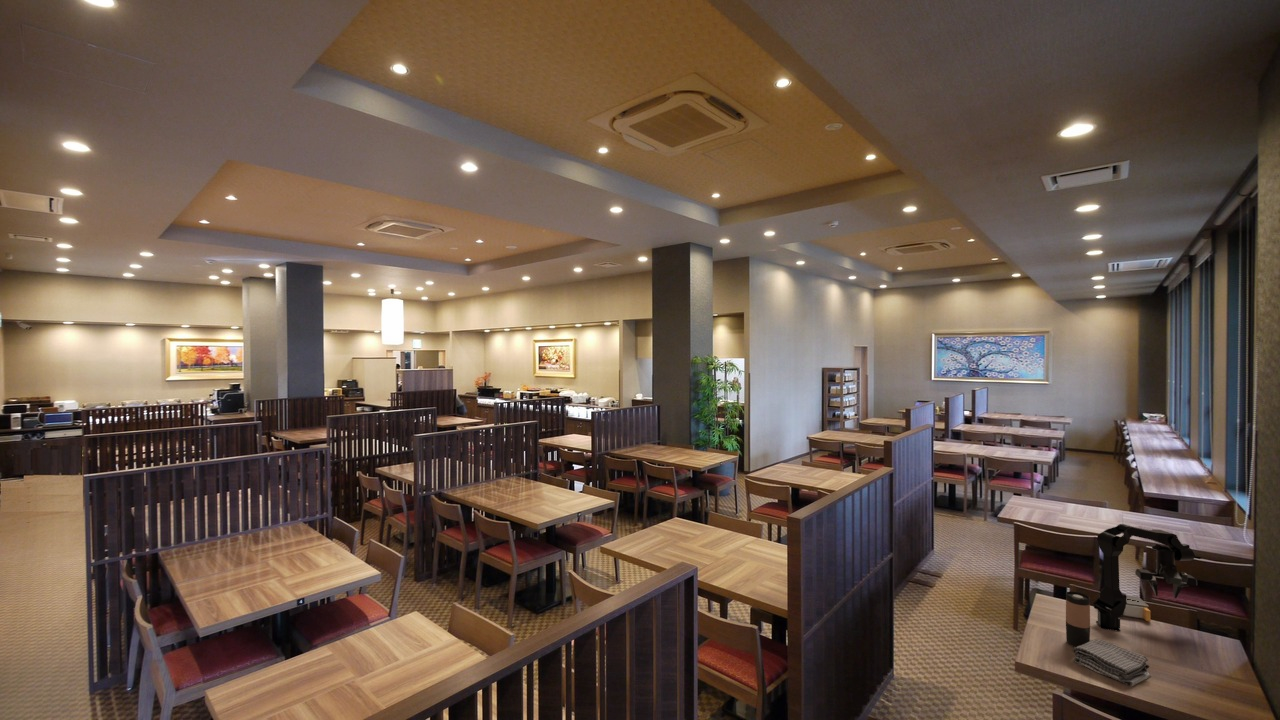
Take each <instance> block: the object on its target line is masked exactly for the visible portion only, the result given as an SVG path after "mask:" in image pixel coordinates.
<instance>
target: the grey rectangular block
mask: <svg viewBox="0 0 1280 720" xmlns="http://www.w3.org/2000/svg"><path fill="white" fill-rule="evenodd" d="M1151 613H1152V611H1151V610H1150V609H1149V607H1148V608H1147V607H1142V606H1135V605H1128V604H1126V608H1125V610H1124V613H1123V615H1125V616H1124V617H1128V616H1132V617H1131V618H1135V617H1139V618H1138V619H1142V618H1144V620H1145V622H1151V620H1152V619H1151Z"/></svg>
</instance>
